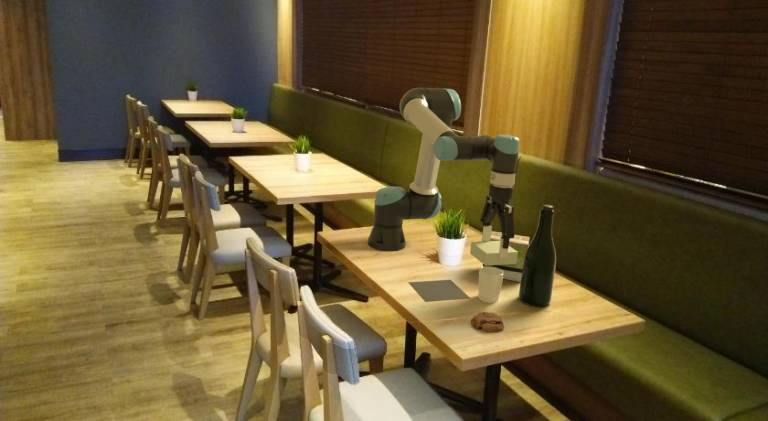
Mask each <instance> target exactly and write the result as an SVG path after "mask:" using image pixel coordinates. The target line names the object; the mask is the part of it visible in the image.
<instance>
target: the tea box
mask: <svg viewBox="0 0 768 421" xmlns="http://www.w3.org/2000/svg"><path fill="white" fill-rule="evenodd" d="M500 237H502V232H501V231H499V232H498V231H493V230H492V231H491V239H490V241H500V239H501V238H500ZM529 245H530V236H525V235H524V236H523V235H519V234H514V238H510V240H509V246H510V247H511V248H513V249H514V250H516V251H517V252H518V256H517V263H516V264H504V265H487V266H485V265H484V264H483V263H482V267H495V268H498V269H501V270H502V271H503V272H504V275H503V280H509V281H514V282H519V283H520V282H521V276H522V270H523V264H524V259H525V254H526V251H527V248H528V246H529Z"/></svg>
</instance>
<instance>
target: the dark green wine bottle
mask: <svg viewBox="0 0 768 421" xmlns="http://www.w3.org/2000/svg"><path fill="white" fill-rule="evenodd" d="M554 216H555V210H554V206H553V205H551V204H542V208H540V210H539V218H538V224H537V229H536V232H535V233H534V236H533V238H532V240H531V241H530V242H529V246H528V248H527V251H526V254H525V259H524V264H523V270H522V276H521V282H519V283H520V284H519V291H518V299H519V301H520V302H522V303H524V304H526V305H529V306H531V307H538V308H539V307H541V308H542V307H547V306H548V305H550V304H551V301H552V300H551V299H552V297H553V296H552V294H553V290H554V280H555V275H556V274H555V273H556V264H557V254H556V248H555V244H554V238H553V222H554Z"/></svg>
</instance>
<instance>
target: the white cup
mask: <svg viewBox="0 0 768 421" xmlns="http://www.w3.org/2000/svg"><path fill="white" fill-rule="evenodd" d="M478 271H479V272H478V284H477V285H478V287H477V288H478V294H477V298H478V300H480V301H482V302H484V303H489V304H490V303H491V304H493V303H497V302H499V298H500V293H501V289H502V285H503V281H504V279H503V275H504V272H503V271H502V270H501V269H498V268H495V267H483V266H482V267H480V268H479V270H478Z"/></svg>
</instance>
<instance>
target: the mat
mask: <svg viewBox="0 0 768 421" xmlns="http://www.w3.org/2000/svg"><path fill="white" fill-rule="evenodd" d="M407 284H408V285H410V287H412V289H413V290H414V291H415V292H416V293H417V294H418V296H420V298H421V299H422V300H423V301H424V302H425V303H428V302H440V301H441V302H443V301H452V300H453V301H454V300H455V301H457V300H465V299H466V300H467V299H471V297H470V296H469V295H468V294H467V293H465V291H464V290H463V289H461V288H460V287H459V285H457V284H456V283H455V282H454V281H453V280H452V279H441V280H438V279H437V280H424V281H423V280H422V281H411V282H410V281H409V282H407Z"/></svg>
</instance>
